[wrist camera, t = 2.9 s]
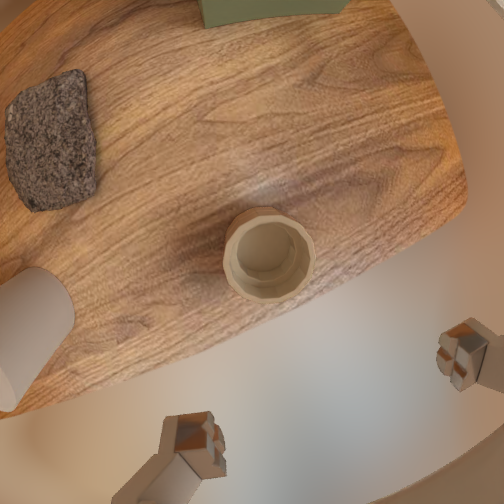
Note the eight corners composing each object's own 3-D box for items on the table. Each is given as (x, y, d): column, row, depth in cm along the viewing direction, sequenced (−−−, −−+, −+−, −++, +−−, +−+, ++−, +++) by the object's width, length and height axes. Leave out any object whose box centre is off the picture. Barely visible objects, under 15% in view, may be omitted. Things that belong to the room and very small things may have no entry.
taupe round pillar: (11, 310, 24) (-50, 368, 12) (23, 251, 22) (-57, 301, 11) (65, 351, 25) (16, 426, 14) (83, 296, 24) (17, 372, 12)
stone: (21, 102, 18) (-2, 96, 14) (96, 69, 19) (78, 55, 15) (31, 217, 21) (7, 225, 17) (108, 196, 22) (89, 200, 18)
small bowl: (291, 196, 23) (305, 204, 19) (306, 269, 25) (322, 290, 21) (214, 216, 23) (211, 228, 19) (235, 289, 25) (237, 314, 21)
